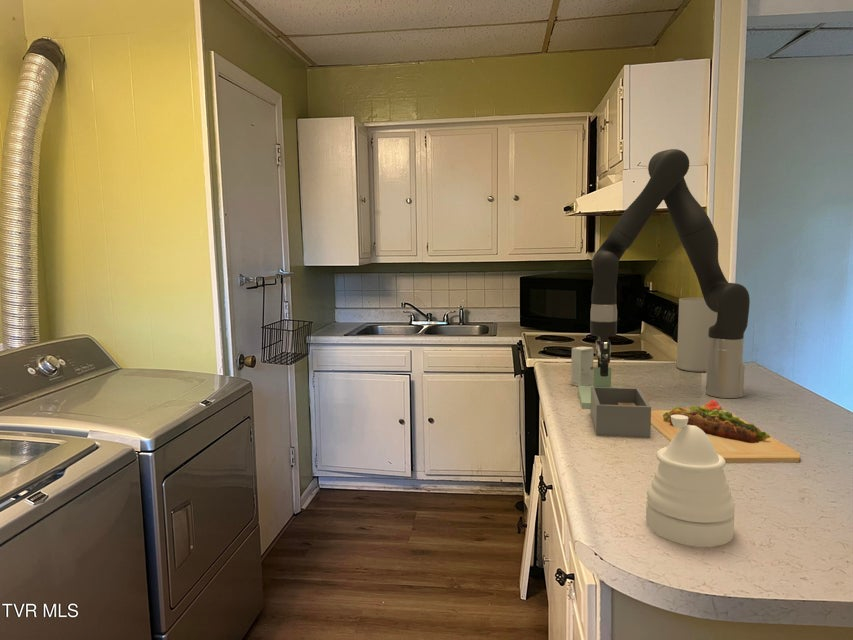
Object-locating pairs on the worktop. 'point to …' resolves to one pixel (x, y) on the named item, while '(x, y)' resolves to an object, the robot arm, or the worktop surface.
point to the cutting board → (727, 434)
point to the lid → (598, 381)
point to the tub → (620, 412)
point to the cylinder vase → (694, 334)
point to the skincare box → (582, 366)
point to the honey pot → (690, 491)
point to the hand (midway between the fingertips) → (602, 373)
